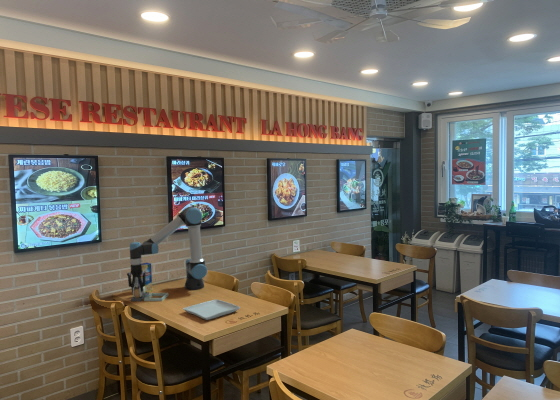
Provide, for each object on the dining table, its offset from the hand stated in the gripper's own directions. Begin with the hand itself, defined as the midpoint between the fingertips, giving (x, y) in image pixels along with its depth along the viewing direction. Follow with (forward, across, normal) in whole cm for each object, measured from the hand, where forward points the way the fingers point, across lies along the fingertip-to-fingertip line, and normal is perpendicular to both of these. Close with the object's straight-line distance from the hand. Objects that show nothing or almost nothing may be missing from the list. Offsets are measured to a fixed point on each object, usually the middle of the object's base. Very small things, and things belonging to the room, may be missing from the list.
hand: (137, 296), depth 292 cm
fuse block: (+3, 0, -4) cm, 5 cm away
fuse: (+3, 0, -9) cm, 9 cm away
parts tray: (+3, -12, -3) cm, 13 cm away
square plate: (+4, -60, +26) cm, 65 cm away
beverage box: (+3, +4, -20) cm, 21 cm away
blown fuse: (+3, 0, 0) cm, 3 cm away
